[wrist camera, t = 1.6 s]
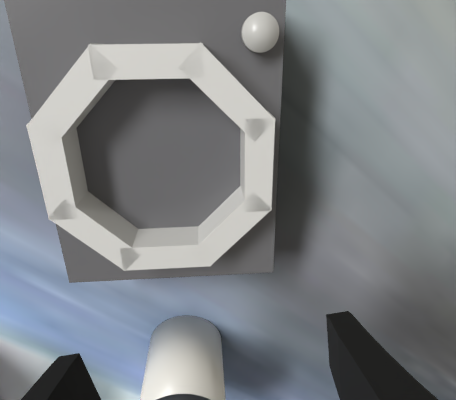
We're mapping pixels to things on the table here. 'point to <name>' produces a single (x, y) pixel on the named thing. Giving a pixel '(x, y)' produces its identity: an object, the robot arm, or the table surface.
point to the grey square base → (155, 131)
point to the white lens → (184, 361)
